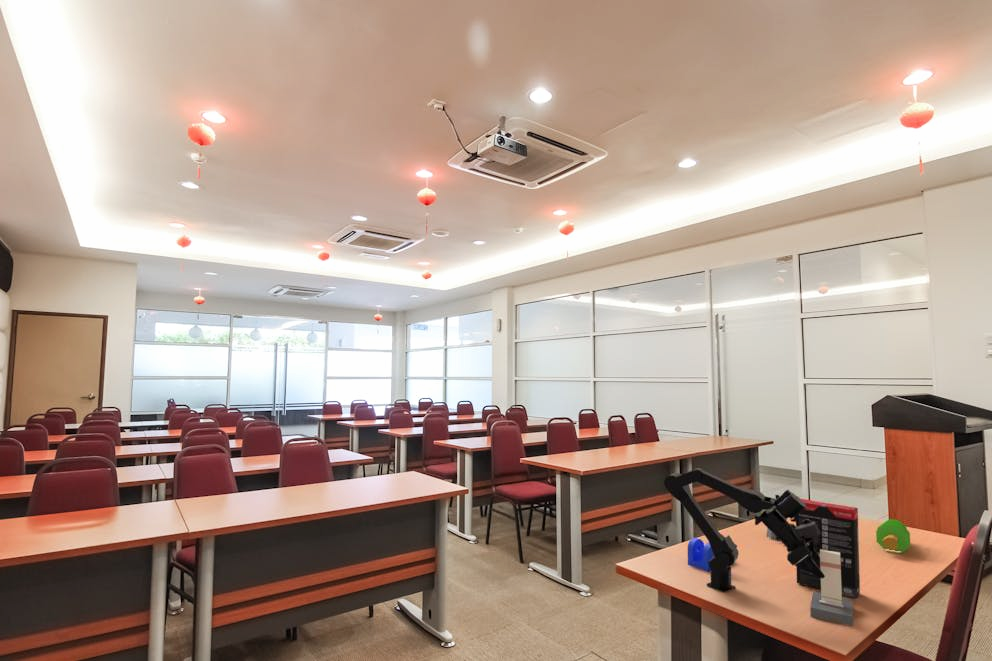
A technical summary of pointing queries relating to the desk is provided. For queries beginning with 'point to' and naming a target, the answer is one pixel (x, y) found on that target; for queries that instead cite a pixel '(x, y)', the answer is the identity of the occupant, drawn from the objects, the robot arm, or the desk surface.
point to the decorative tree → (893, 535)
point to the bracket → (699, 554)
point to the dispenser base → (832, 610)
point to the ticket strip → (831, 576)
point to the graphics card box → (834, 542)
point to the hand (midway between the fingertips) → (824, 572)
